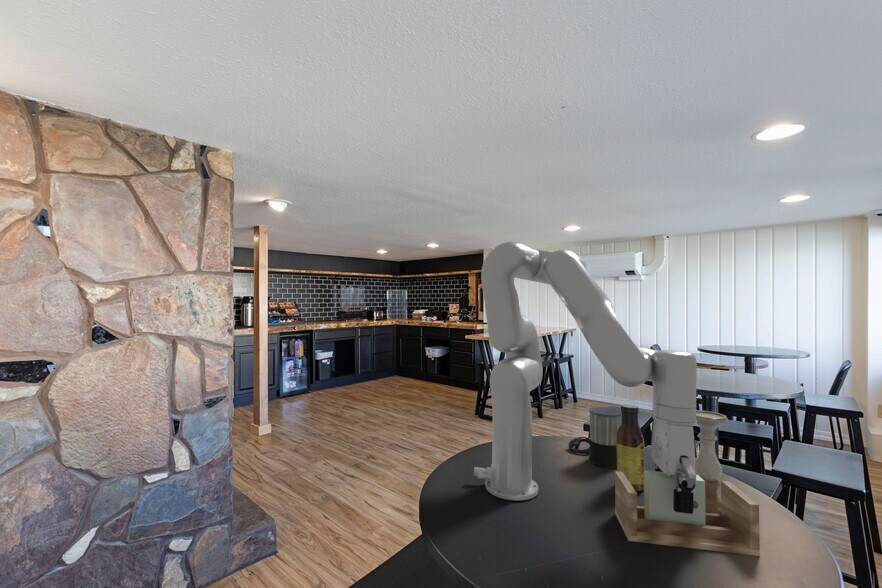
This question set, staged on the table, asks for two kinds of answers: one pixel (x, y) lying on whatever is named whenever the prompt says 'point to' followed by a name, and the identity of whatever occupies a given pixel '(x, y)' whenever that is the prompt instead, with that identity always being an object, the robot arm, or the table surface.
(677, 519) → the rectangular block
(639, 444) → the sauce bottle
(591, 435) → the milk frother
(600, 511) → the table surface
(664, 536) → the track
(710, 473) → the candle holder
